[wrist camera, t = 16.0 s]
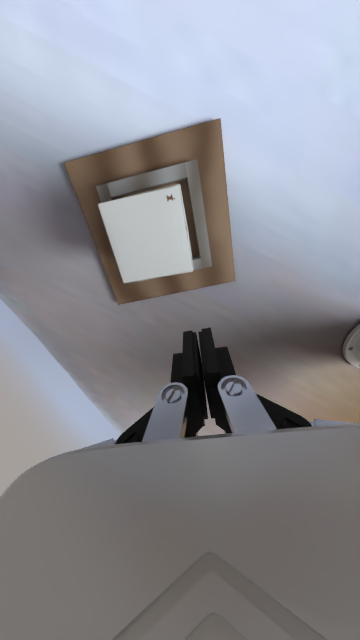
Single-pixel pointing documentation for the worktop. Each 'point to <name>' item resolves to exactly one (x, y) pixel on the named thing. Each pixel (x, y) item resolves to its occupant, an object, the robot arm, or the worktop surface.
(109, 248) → the pocket board
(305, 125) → the worktop surface
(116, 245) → the supplement box
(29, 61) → the worktop surface
